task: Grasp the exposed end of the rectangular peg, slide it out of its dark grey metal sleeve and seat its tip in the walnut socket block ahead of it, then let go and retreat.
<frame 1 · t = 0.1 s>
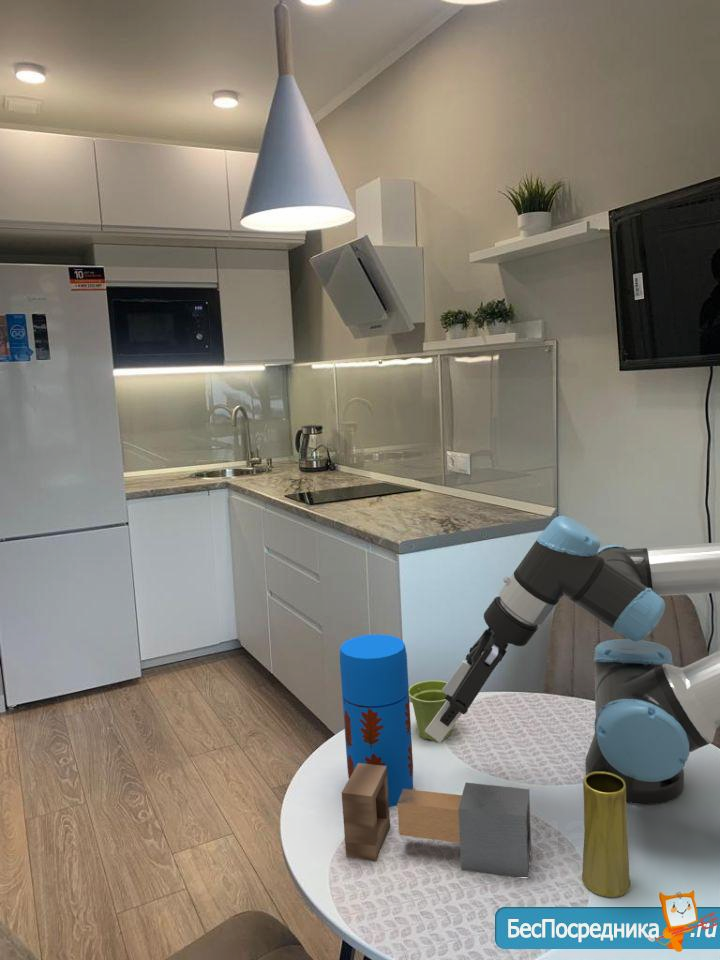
hand: (441, 714, 113), 15 cm above the table, tool tilted 35°, fingers open, 13 cm apart
vase: (606, 883, 96), on the table
thermos: (381, 790, 121), on the table
sleeve: (496, 859, 102), on the table
rectangular peg: (462, 819, 102), point 5 cm above the table, slide at 0.0 cm
socket block: (368, 841, 107), on the table
plant pot: (434, 734, 138), on the table
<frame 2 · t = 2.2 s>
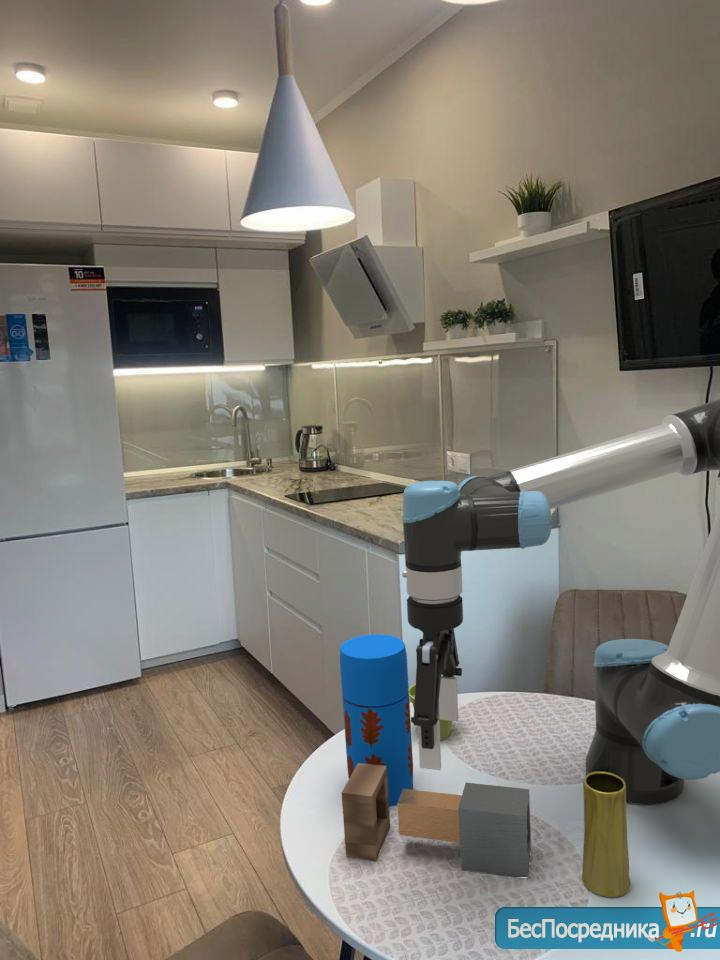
hand: (440, 742, 101), 17 cm above the table, tool pointing down, fingers open, 13 cm apart
nothing on the table moved.
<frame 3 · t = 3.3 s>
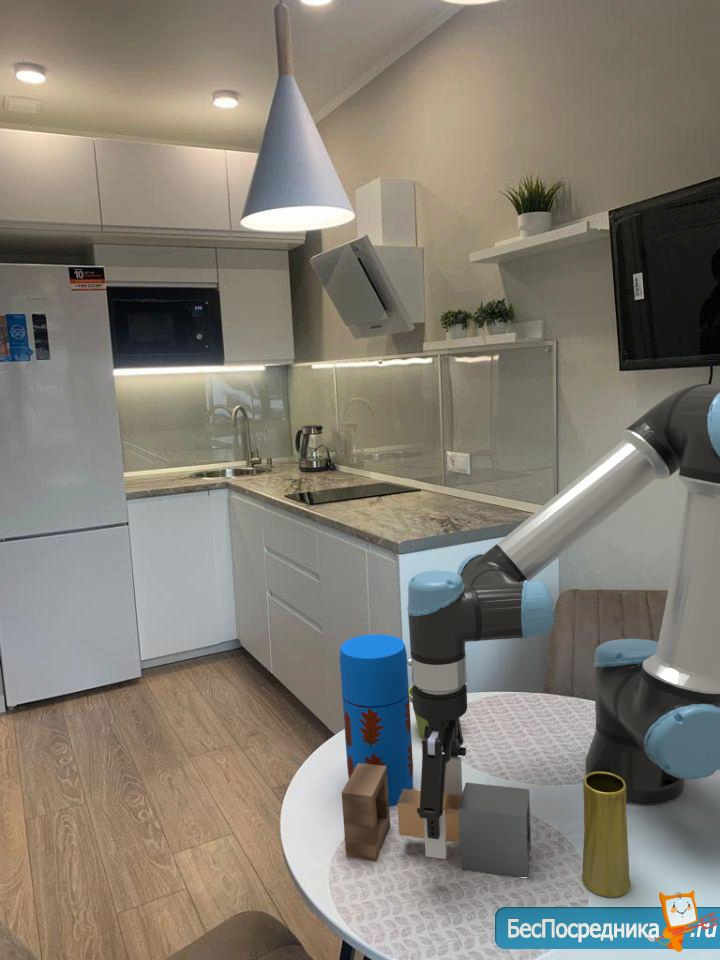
hand: (445, 825, 103), 4 cm above the table, tool pointing down, fingers open, 13 cm apart
nothing on the table moved.
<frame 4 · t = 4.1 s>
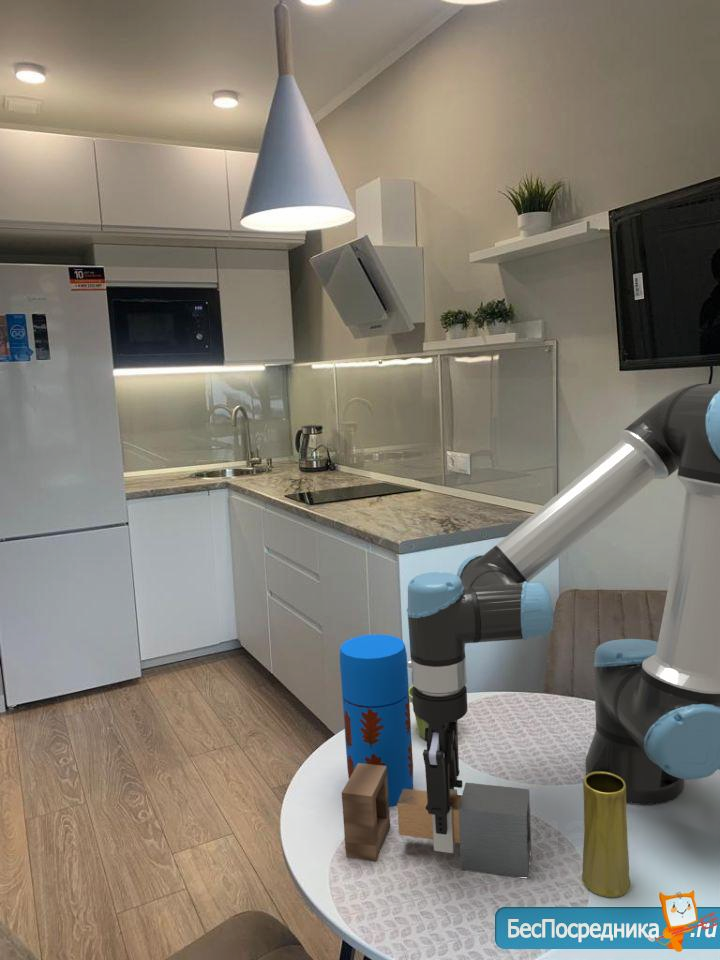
hand: (446, 840, 103), 2 cm above the table, tool pointing down, fingers closed on rectangular peg, 4 cm apart
rectangular peg: (462, 819, 102), point 5 cm above the table, slide at 0.0 cm, touching gripper
everything else where it was.
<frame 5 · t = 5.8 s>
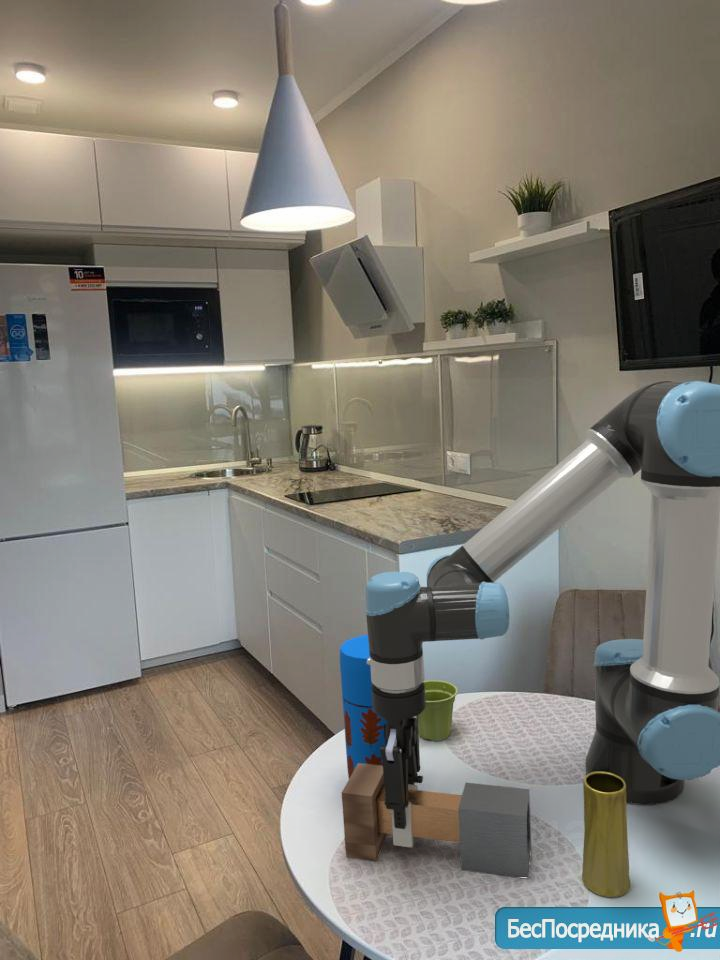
hand: (406, 834, 105), 2 cm above the table, tool pointing down, fingers closed on rectangular peg, 4 cm apart
rectangular peg: (421, 814, 104), point 5 cm above the table, slide at 5.9 cm, touching gripper
everything else where it was.
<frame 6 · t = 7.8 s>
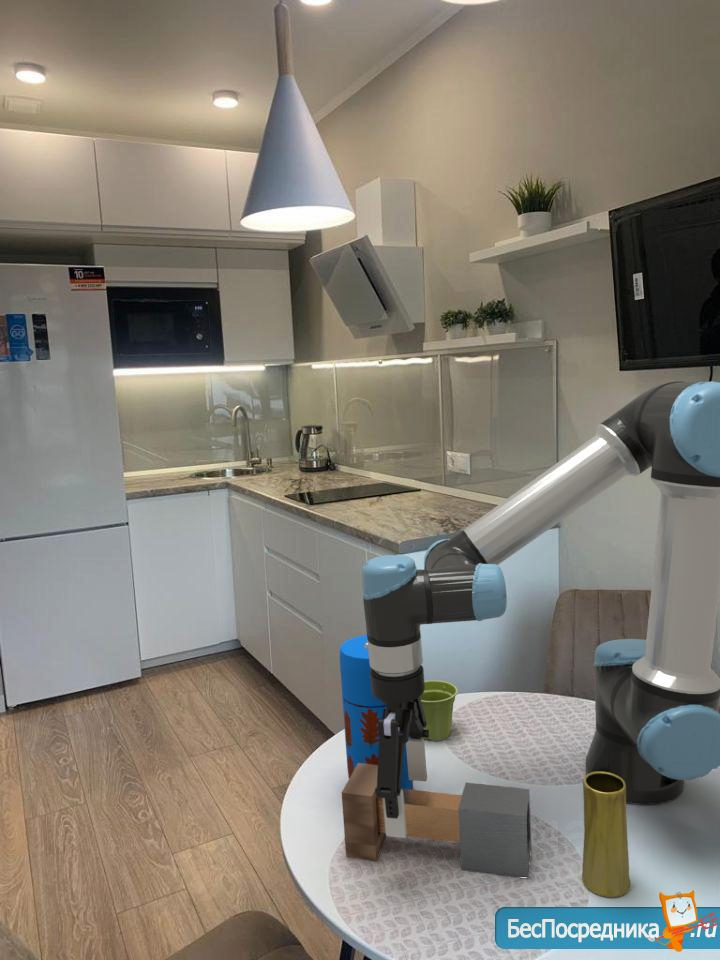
hand: (407, 805, 105), 6 cm above the table, tool pointing down, fingers open, 13 cm apart
rectangular peg: (420, 813, 104), point 5 cm above the table, slide at 6.0 cm
everything else where it was.
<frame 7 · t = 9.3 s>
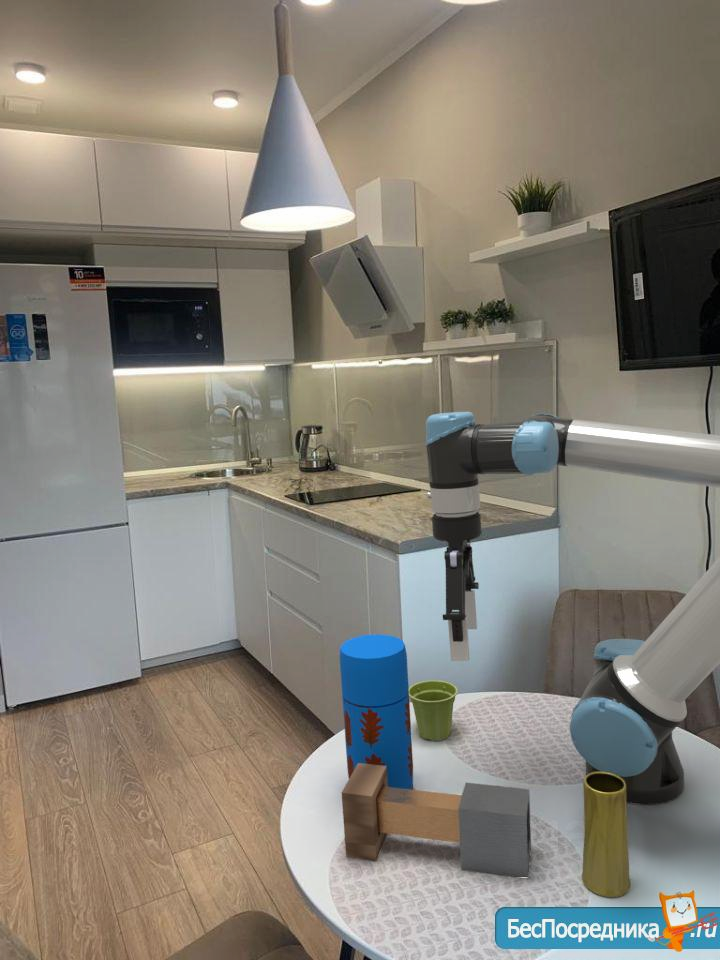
hand: (464, 643, 115), 25 cm above the table, tool pointing down, fingers open, 13 cm apart
nothing on the table moved.
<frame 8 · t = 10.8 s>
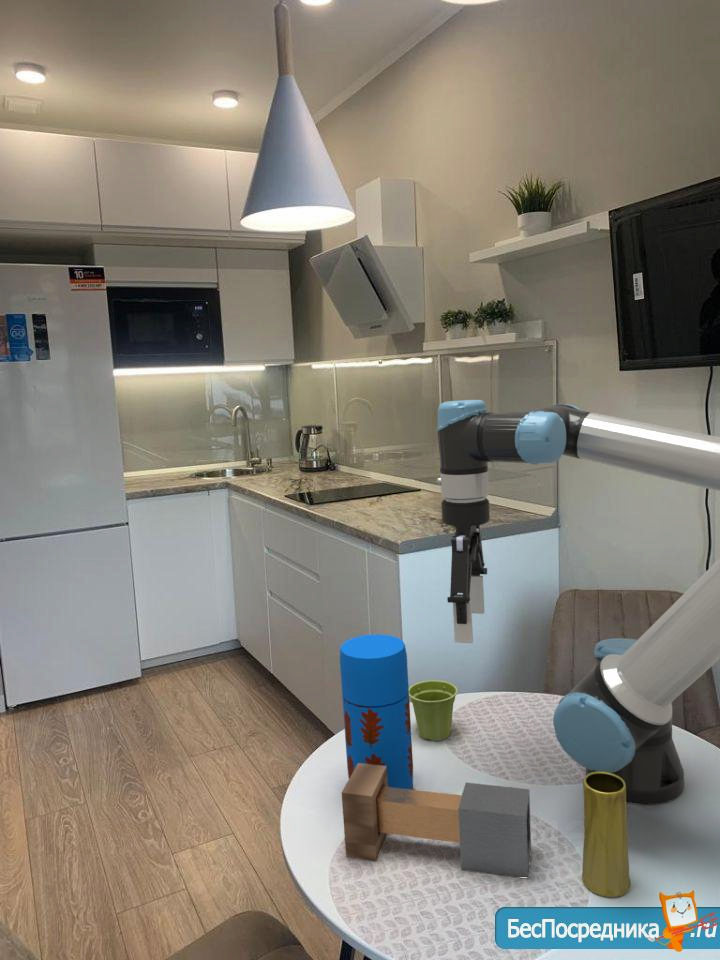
hand: (470, 626, 118), 27 cm above the table, tool pointing down, fingers open, 13 cm apart
nothing on the table moved.
at the end: rectangular peg slide at 6.0 cm; the gripper is holding nothing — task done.
